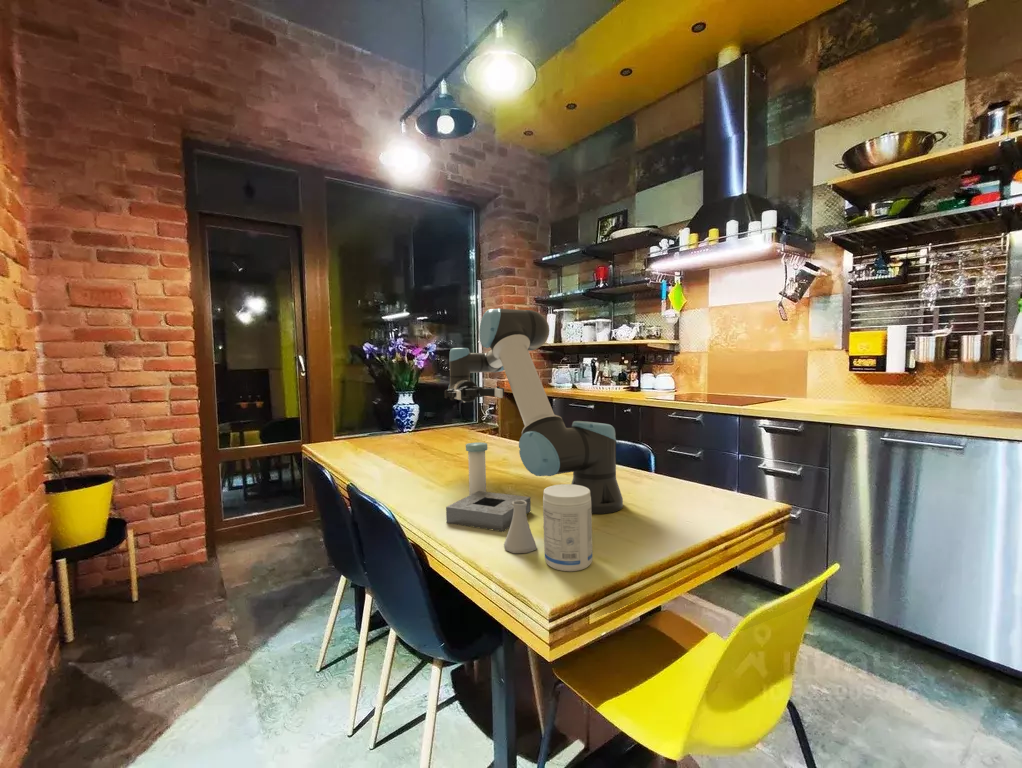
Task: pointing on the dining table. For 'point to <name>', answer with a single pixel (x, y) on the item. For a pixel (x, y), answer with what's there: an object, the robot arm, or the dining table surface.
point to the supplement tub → (567, 527)
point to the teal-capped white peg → (476, 466)
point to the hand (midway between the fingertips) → (481, 394)
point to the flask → (519, 531)
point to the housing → (485, 510)
